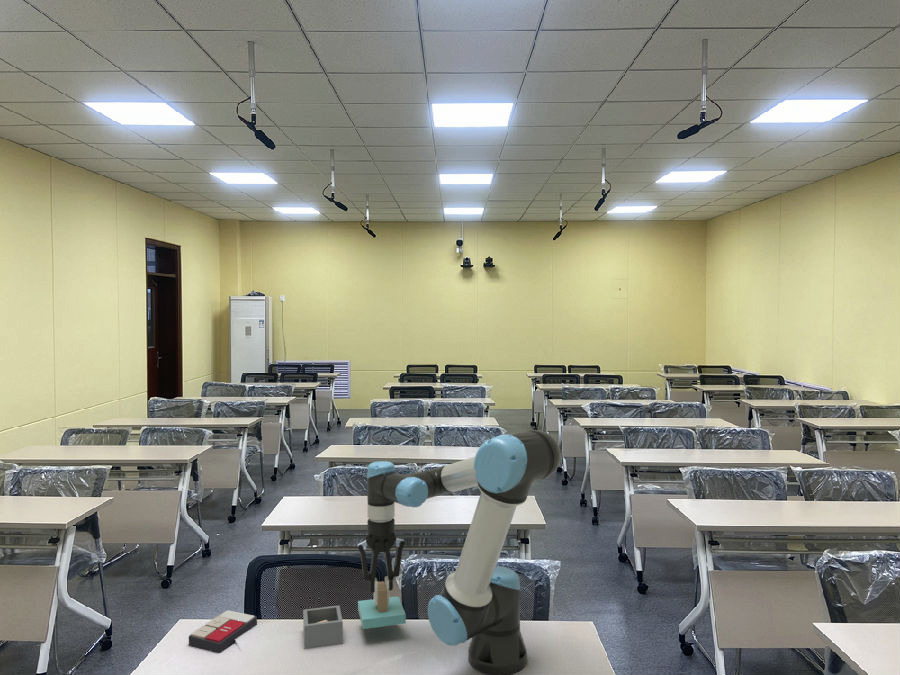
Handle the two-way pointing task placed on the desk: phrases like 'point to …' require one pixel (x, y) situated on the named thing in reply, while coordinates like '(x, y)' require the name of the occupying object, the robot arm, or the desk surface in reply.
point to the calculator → (222, 631)
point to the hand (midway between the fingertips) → (381, 602)
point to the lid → (381, 610)
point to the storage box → (322, 627)
